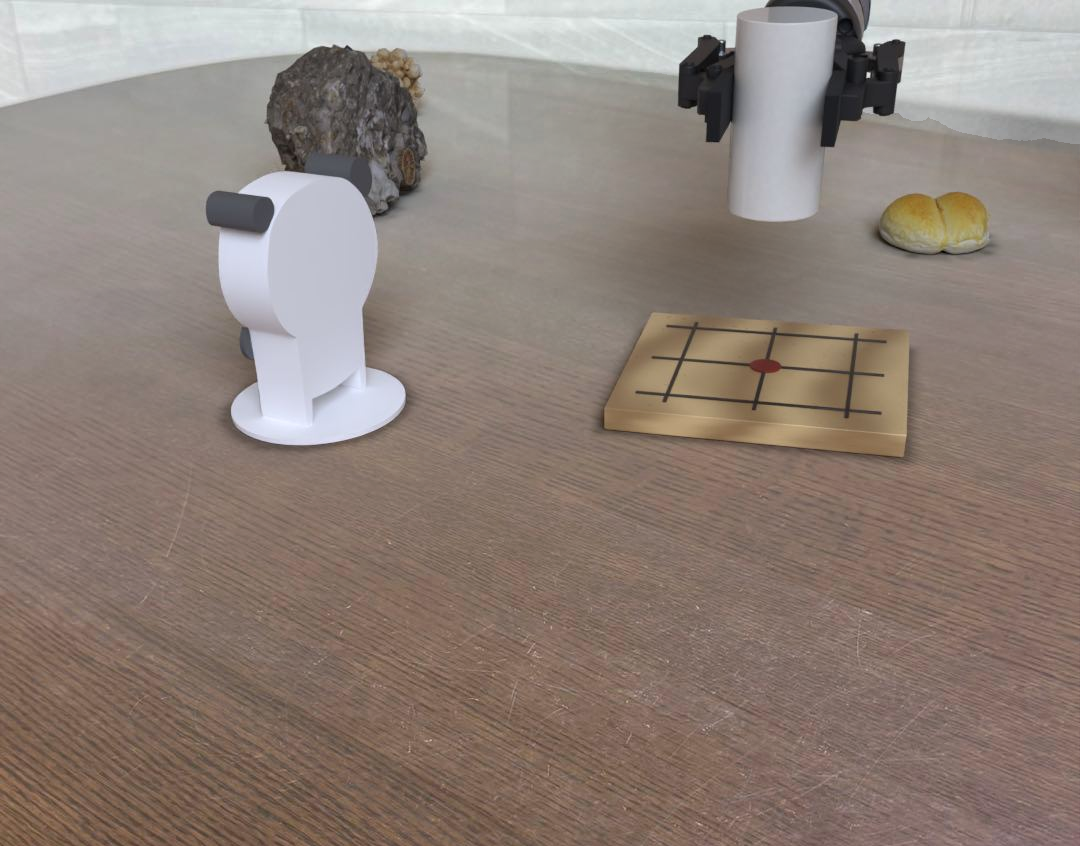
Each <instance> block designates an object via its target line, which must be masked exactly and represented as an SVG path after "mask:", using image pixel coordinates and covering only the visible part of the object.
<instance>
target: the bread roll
mask: <svg viewBox="0 0 1080 846" xmlns="http://www.w3.org/2000/svg"><path fill="white" fill-rule="evenodd" d="M990 224H991V214H989V210H988V209H987V208H986V207H985V205H984V203H983V202H982V201H981V200H980V199H978V198H977V197H975V196H974V195H971V194H969V193H966V192H962V191H951V192H947V193H945V194H942V195H939V196H937V197H936V198H934V197H931V196H929V195H927V194H924V193H923V194H922V193H917V192H916V193H910V194H909V193H908V194H906V195H902V196H900V197H898V198H896V199H895V200H894V201H892V202H890V204H889V205H888V206H887V207H886V208H885V209H884V211H883V212H882V215H881V217H880V219H879V225H878V230H879V234H880V236H881V237H882V238H883V239H884V241H885V242H887V243H889V244H890V245H891V246H893V247H897V248H899V249H902V250H905V251H907V252H911V253H915V254H925V255H935V254H938V253H941V252H942V251H943V252H946V253H947V254H951V255H961V254H968V253H972V252H975V251H977V250H981V249H983V248H984V247H986V246H988V244H990V240H991V239H990Z"/></svg>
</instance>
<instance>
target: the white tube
mask: <svg viewBox="0 0 1080 846" xmlns="http://www.w3.org/2000/svg"><path fill="white" fill-rule="evenodd" d="M764 7H765V6H764ZM764 7H758V8H757V7H756V8H752V9H751V8H749V9H747V10H743V11H741V12H738V13H737V15H736V25H735V42H734V48H735V60H734V79H733V97H732V116H731V122H730V134H729V135H730V137H729V152H728V153H729V156H728V158H729V159H728V172H727V173H728V174H727V193H726V209H727V211H728V212H729V213H731V214H732V215H734V216H736V217H739V218H743V219H746V220H750V221H757V222H767V223H785V222H794V221H795V222H796V221H800V220H805V219H808V218H811V217H814V216H815V215H817V213H818V212H819V211H820V207H821V196H822V185H823V175H824V174H823V173H824V165H825V156H826V155H825V153H826V147H820V145H821V134H822V124H823V113H824V103H825V95H826V91H827V88H828V85H829V82H830V79H831V76H832V72H833V61H834V51H835V40H836V30H837V19H838V15H837V13H835V12H833V11H830V10H826V9H820V8H811V7H765V8H764Z"/></svg>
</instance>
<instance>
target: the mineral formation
mask: <svg viewBox="0 0 1080 846" xmlns="http://www.w3.org/2000/svg"><path fill="white" fill-rule="evenodd" d="M369 62H370V63H371V64H372V65H373V66H375V67H376V69H377V70H386V71H388V72H391V73H393V75H394V76H395V77H398V78H399V81H400V87H407V89H408V91H409V92H410V94H411V96H412V100H413V104H414V105H415V107H416V110H417V111H418V107H419V103H420V101H419V100H420V99H421V98H422V97H423V96H424V93H425V92H426V88H425V85H422V84H421V83H420V82H419V78H422V77H423V73H424V72H423V71H422V69H421V66H420V65H419V61H418V59H417V58H416V57H410V56H408V54H407V51H406V50H405V49H404V48H399V47H395V49H392V51H391V52H390V50H389V49H387V48H385V47H384V48H383V47H382V48H378V50H377V51H376V54H373V53H371V57H370V59H369Z"/></svg>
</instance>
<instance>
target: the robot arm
mask: <svg viewBox="0 0 1080 846" xmlns="http://www.w3.org/2000/svg"><path fill="white" fill-rule="evenodd" d="M871 6H872V0H768V1H767V2H766V4H765V6H764V7H763V8H765V7H811V8H820V9H826V10H830V11H833V12H835V13H837V15H838V19H837V30H836V40H835V51H834V61H833V72H832V76H831V79H830V82H829V85H828V88H827V91H826V95H825V103H824V113H823V124H822V134H821V145H820V147H825V148H835V147H836V142H837V138H838V134H839V130H840V126H841V123H842V121H843V122H859V121H860V120H861V119H862V116H863V110H864V109H868V108H872V113H873V114H874V115H878V116H880V117H887V116H888V117H889V116H891V115H893V114H894V113H895V108H896V98H897V91H898V85H899V84H900V83H901V82H902V73H903V67H904V58H905V52H906V51H905V50H906V44H907V43H906V41H904V40H901V39H898V38H894V39H892V40H887V41H885V42H883V43H877V42H876V43H874V44H873V46H872V51H871V50H867V47H866V43H864V41H863V38H864V34H865V32H866V30H867V29H868V27H869V23H870V16H871ZM726 46H727V41H726V39H718V38H717V37H716V36H713V35H711V34H703V35H702V36H698V37H697V46H696V48H695V49H693V50H692V51H691V52H690V53H689V54H688V55H687V56H686V57H685V58H684V59H683V60H682V61H681V62H680V63H678V81H677V82H678V84H677V107H679V108H681V109H685V110H691V109H692V108H695V107H696V113H697V115H698V116H704V121H703V122H704V123H705V124H706V128H705V129H706V131H705V143H719V144H720V143H721V140H722V139H723V137H724V135H725V133H726V131H727V129H728V128H729V126H730V125H731V116H732V97H733V79H734V60H735V47H726ZM868 73H869V77H867V75H868Z"/></svg>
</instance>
